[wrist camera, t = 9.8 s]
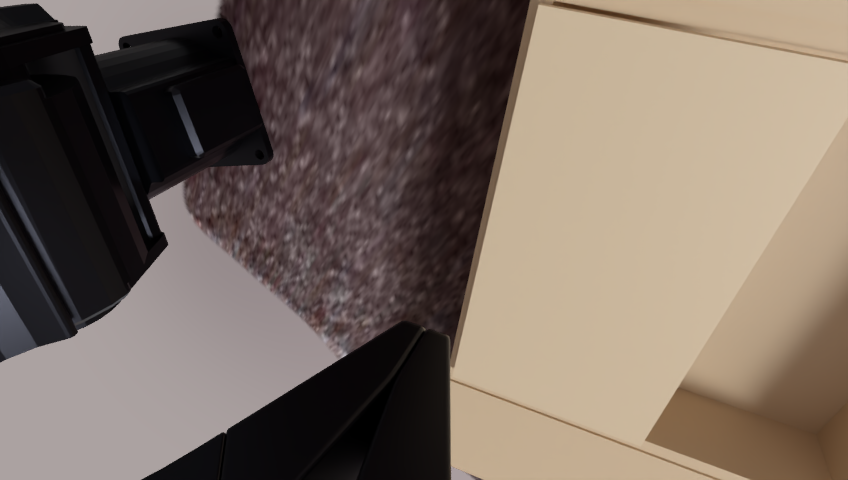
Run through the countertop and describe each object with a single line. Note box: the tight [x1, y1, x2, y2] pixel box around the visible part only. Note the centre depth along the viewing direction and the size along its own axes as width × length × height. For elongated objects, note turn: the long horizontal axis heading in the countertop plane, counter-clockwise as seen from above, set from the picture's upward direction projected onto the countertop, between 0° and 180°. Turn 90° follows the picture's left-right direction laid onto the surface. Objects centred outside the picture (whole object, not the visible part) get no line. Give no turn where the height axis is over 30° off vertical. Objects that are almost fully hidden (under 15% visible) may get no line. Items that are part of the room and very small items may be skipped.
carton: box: [450, 0, 848, 480], centre depth 17 cm, size 16×28×4 cm, turn 173°
